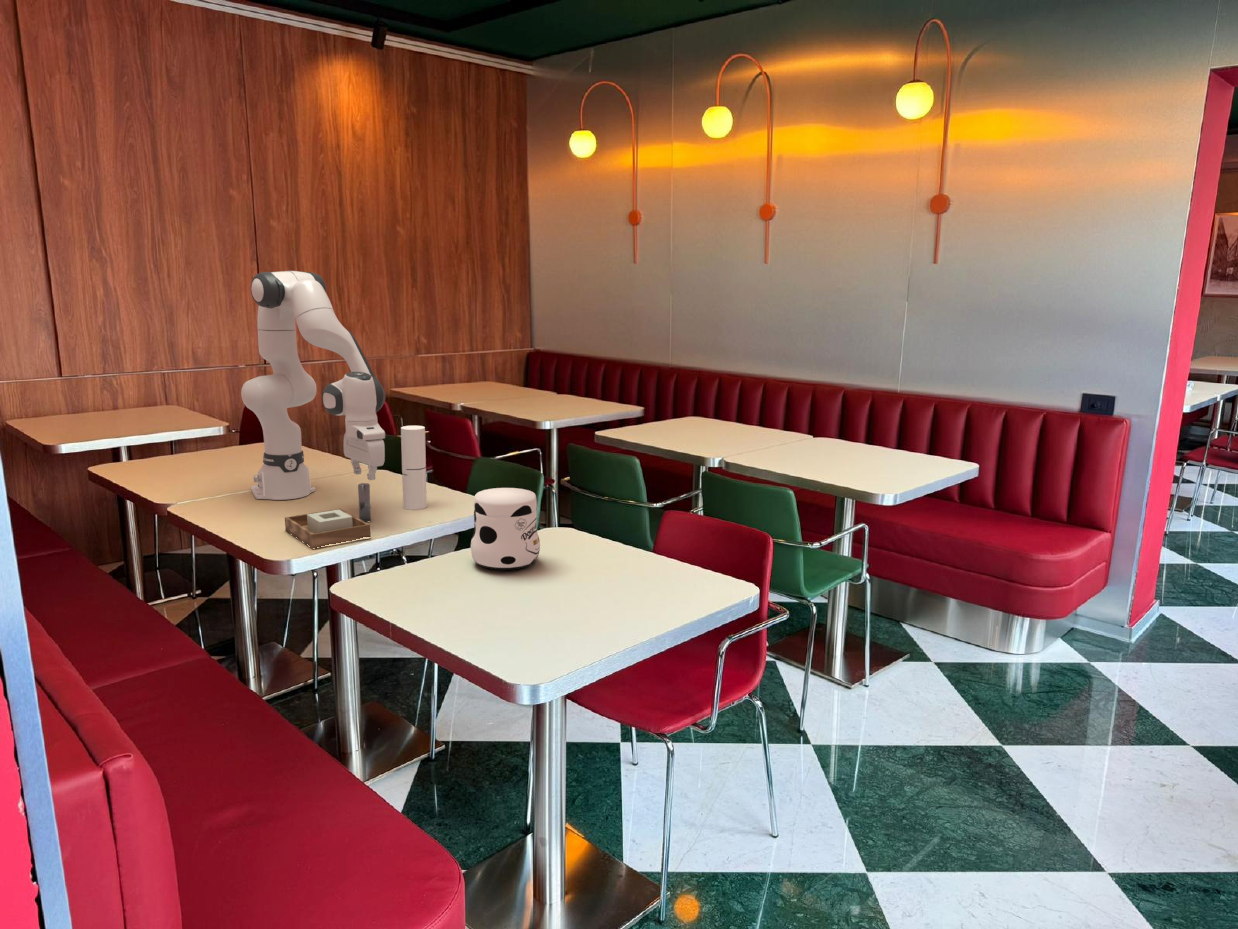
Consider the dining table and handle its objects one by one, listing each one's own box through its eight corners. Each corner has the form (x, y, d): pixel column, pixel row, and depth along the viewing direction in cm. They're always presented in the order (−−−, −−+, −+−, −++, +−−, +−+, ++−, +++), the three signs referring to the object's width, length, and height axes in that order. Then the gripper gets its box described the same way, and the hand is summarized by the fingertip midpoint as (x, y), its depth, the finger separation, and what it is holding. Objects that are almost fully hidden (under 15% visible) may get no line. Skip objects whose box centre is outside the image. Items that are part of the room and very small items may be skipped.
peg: (357, 520, 253) (356, 484, 251) (368, 518, 255) (366, 482, 253) (362, 523, 251) (360, 486, 248) (372, 521, 253) (371, 484, 250)
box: (285, 531, 241) (284, 517, 240) (341, 521, 251) (340, 508, 250) (312, 549, 226) (312, 534, 225) (370, 538, 236) (370, 524, 236)
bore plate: (307, 532, 238) (306, 514, 236) (339, 526, 243) (338, 509, 242) (320, 540, 231) (319, 522, 230) (352, 534, 237) (352, 516, 235)
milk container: (550, 570, 216) (550, 500, 212) (483, 579, 208) (482, 507, 204) (525, 549, 231) (526, 484, 227) (462, 557, 223) (461, 490, 219)
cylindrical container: (420, 510, 265) (418, 430, 260) (399, 508, 267) (396, 428, 261) (430, 504, 272) (428, 426, 267) (409, 503, 273) (407, 424, 268)
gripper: (336, 425, 253) (339, 472, 255) (366, 435, 237) (369, 484, 240) (357, 423, 257) (359, 469, 259) (387, 433, 241) (390, 481, 244)
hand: (364, 476), depth 250 cm, fingers open, 8 cm apart
